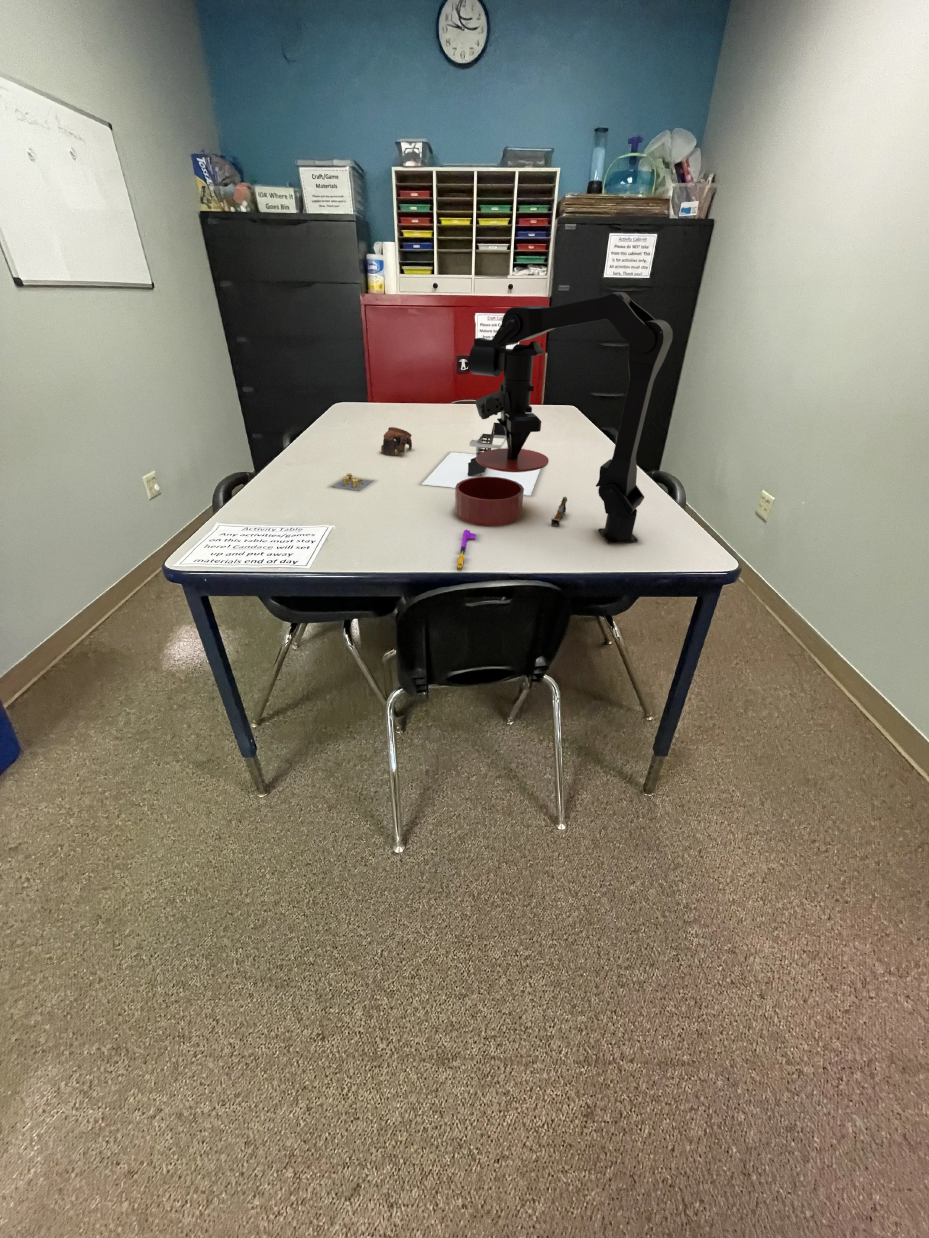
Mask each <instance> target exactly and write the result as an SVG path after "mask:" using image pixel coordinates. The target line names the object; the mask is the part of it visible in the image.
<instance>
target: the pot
mask: <svg viewBox="0 0 929 1238" xmlns="http://www.w3.org/2000/svg"><path fill="white" fill-rule="evenodd" d="M523 494H524V488H523V487H522V485H521V484H519V483H517V482H516V481H513V480H510V479H506V478H500V477H488V476H487V477H474V478H469V479H465V480H462V481H461V482H459V483H457V485H456V487H455V488H454V511H455V515H456V517H457V518H458V519H459V520H461V521H462V522H464V523H467V524H470V525H474V526H480V527H502V526H507V525H512V524H513V523H516V522H517V521H519V520H520V519H521V518H522V514H523V504H524V495H523Z"/></svg>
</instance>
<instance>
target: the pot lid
mask: <svg viewBox="0 0 929 1238" xmlns="http://www.w3.org/2000/svg"><path fill="white" fill-rule="evenodd" d="M477 462H478V463H479V464H480V465H481V466H483V467H486V468H489V469H493V470H497V471H503V472H527V471H533V470H538V469H540V470H541V469H544V468H546V467H547V466H548V464H549V462H550V460H549V457H548V456H547V455H546V454H543V453H541V452H538V451H536V450H531V449H525V448H522V449H521V451H520V453H519V455H518V456H517V458H512V455H511V445H510V437H508V446H507V447H505V448H503V447H501V449H496V448H492V449H491V450H488V451H485V452H484V451H483V452H482V453H480V454H479V455H478V456H477Z"/></svg>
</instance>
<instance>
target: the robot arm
mask: <svg viewBox="0 0 929 1238" xmlns="http://www.w3.org/2000/svg"><path fill="white" fill-rule="evenodd" d="M603 320H605V321H606V320H608V321H609V322H610V323H611V324H612V325H613V327H614V328H615V329H616V331H617V332H618V334H619V336H621V337H622V338H623V339H624V340H625V341H626V342H627V343H628V349H627V351H628V353H627V365H628V377H629V380H628V385H627V389H626V394H625V399H624V404H623V408H622V411H621V412H622V413H621V417H620V420H619V427H618V431H617V436H616V439H615V440H616V441H615V445H614V450H613V455H612V457H611V459H608V460H607V461H606V462H604V463H603V464H602V465H601V466H599V477H598V481H597V483H596V484H595V487H597V488H598V489H597V492H598V497H600V499H601V501H602V502H603V506H604V507H603V508H604V512H605V514H606V515H607V516H606V519H605V525H604V527H603V528H598V529H597V532H598V533H599V534H600V535H601V537H602V538H603V539H604V540H605V541H606V542H607V543H608V544H623V543H625V544H626V543H637V542H638V541H639V539H638V538H637V536H635V535H634V534H633V533H634V529H635V524H636V519H637V513H638V510H637V509H638V507H639V506H641V504H642V502H643V501H644V499H645V495H644V494H643V492H642V491H641V489H640V488H639V486H638V485H637V478H638V477H637V475H638V466H637V465H638V464H637V452H638V449H639V445H640V444H639V443H640V440H641V436H642V430H643V427H644V423H645V418H646V415H647V411H648V407H649V402H650V398H651V396H652V395H651V394H652V390H653V385H654V382H655V379H656V378H657V374H658V373H659V370H660V369H661V367H662V365H663V363H664V361H665V360H666V357H667V354H668V351H669V349H670V347H671V344H672V342H673V336H674V333H673V329H672V327H671V325H670V324H669V323H668V322H667V321H666V320H663V319H656V318H654V317H653V316H652V315H651V314H650V313H649V312H648V311H647V310H645V309H644V308H643V307H642V306H640V305H639V304H637V303H636V302H635V301H634V300H633V299H631V297H630V296H629V295H628V294H627V293H626V292H624V291H612V292H610V293H608V294H606V295H602V296H597V297H596V296H595V297H592V298H587V299H582V300H577V301H573V302H567V303H563V304H562V303H561V304H557V305H552V306H546V305H544V306H543V305H522V306H512V307H510V308H508V309H506V310H505V311H504V314H503V316H502V319H501V325H500V326H499V328H498V329H497V331H496V333H495V334H494V336H493V337H492V339H487V338H485V337H474V339H473V346H472V347H471V348H470V351H469V355H468V358H467V365H468V368H469V371H470V374H472V375H478V376H487V377H496V378H497V377H499V376H501V374H502V373H503V379H502V380H503V382H502V381H501V382H500V384H499V389H498V391H495V392H491V393H489V394H486V395H484V396H482V397H479V398H477V399H475V400H474V403H475V408H476V410H477V413H478V416H479V417H480V418H481V420H488V419H489V418H490V417H492V416H498V414H499V413H500V418H499V417H498V418H496V421H498V422H497V423H500V424H501V425H502V426H503V427H504V430H505V435H506V445H507V447H508V437H510V445H511V455H512V458H517V456H518V455H519V453H520V451H521V449H523V447H524V445H525V444H526V441H527V440H528V438H529V436H530V435H531V433H539V432H541V430H542V420H541V419H540V418H539V416H537V415H536V414H535V413H534V412H533V407H532V406H531V405H530V404H531V392H534V388H535V386H534V385H533V384H532V378H533V366H534V365H533V363H534V357H536V356H541V355H543V354H545V350H544V349H543V348H542V347H541V346H540V344H539V343H538V341H537V340H532V339H535V338H537V337H539V336H542V335H544V334H546V333H548V332H551V331H554V330H555V329H560V328H565V327H571V326H576V325H581V324H587V323H593V322H598V321H603ZM528 340H532V341H531V342H529V344H524V343H523V344H521V343H520V342H522V341H528ZM512 345H514V346H513V347H512V348H507V346H512Z"/></svg>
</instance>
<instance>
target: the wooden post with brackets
mask: <svg viewBox="0 0 929 1238" xmlns="http://www.w3.org/2000/svg"><path fill="white" fill-rule="evenodd" d="M567 502H568V497H567V496H563V497H562V499H561V501H560V505H559V506H558V509H557V510H556V514H555V516H554V517H553V518H552V517H551V519H550V523H551V524H550V525H551V526H555V527H560V520H561V519H564V516H565V514H566V511H567V505H566V504H567Z"/></svg>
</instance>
